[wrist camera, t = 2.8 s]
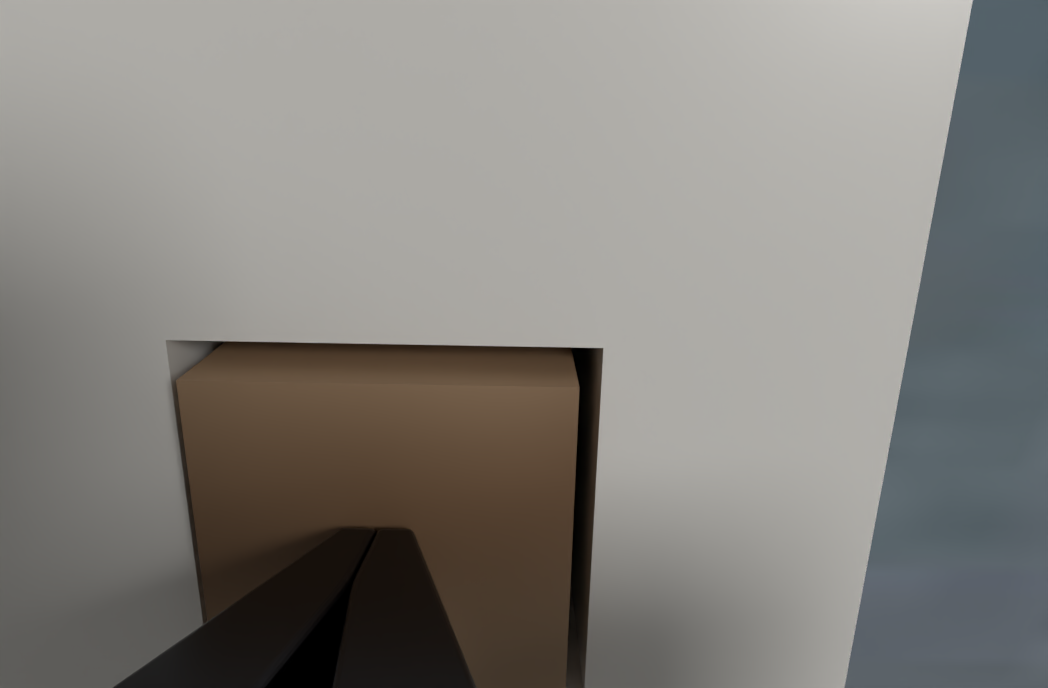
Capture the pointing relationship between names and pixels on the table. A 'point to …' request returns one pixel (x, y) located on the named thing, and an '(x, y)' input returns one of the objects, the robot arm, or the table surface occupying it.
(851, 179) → the white peg base
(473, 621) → the peg
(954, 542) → the table surface
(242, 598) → the robot arm
